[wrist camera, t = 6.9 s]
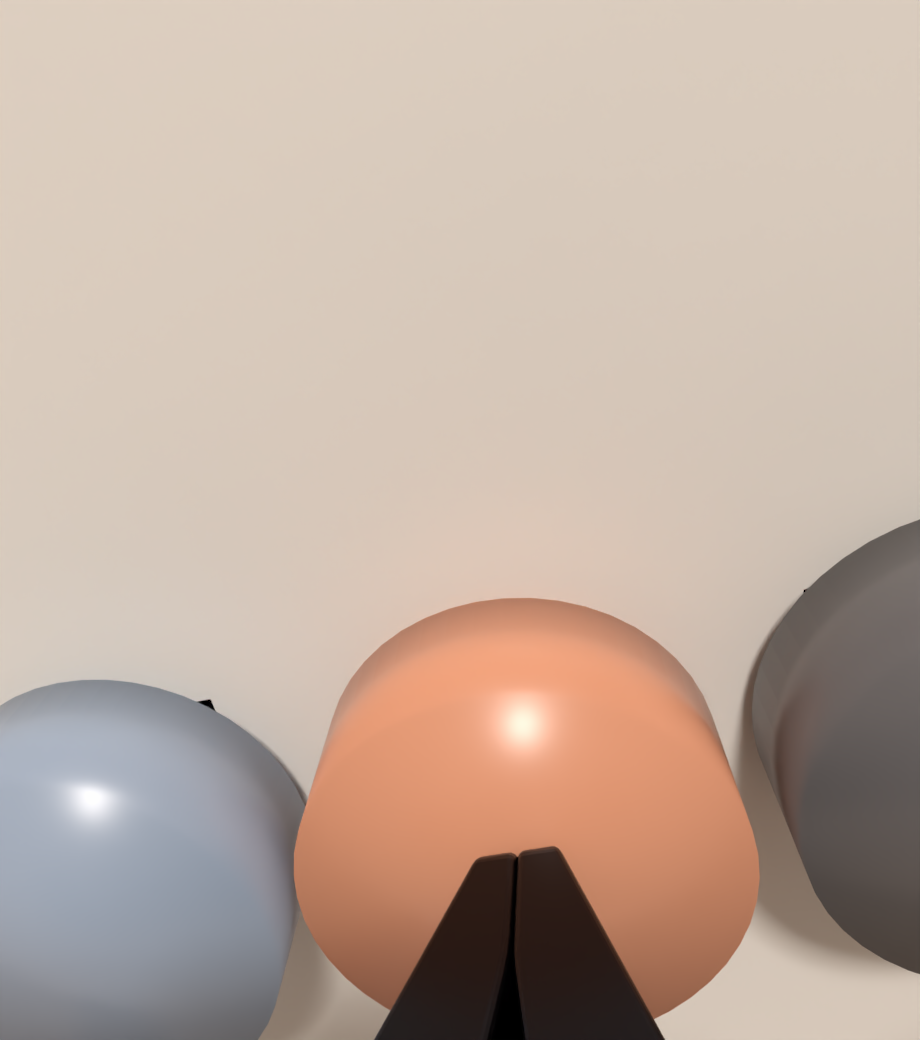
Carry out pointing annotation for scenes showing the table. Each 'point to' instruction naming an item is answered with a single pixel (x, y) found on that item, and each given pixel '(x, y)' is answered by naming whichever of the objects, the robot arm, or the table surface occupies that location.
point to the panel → (459, 368)
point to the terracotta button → (526, 793)
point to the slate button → (140, 868)
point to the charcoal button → (852, 740)
